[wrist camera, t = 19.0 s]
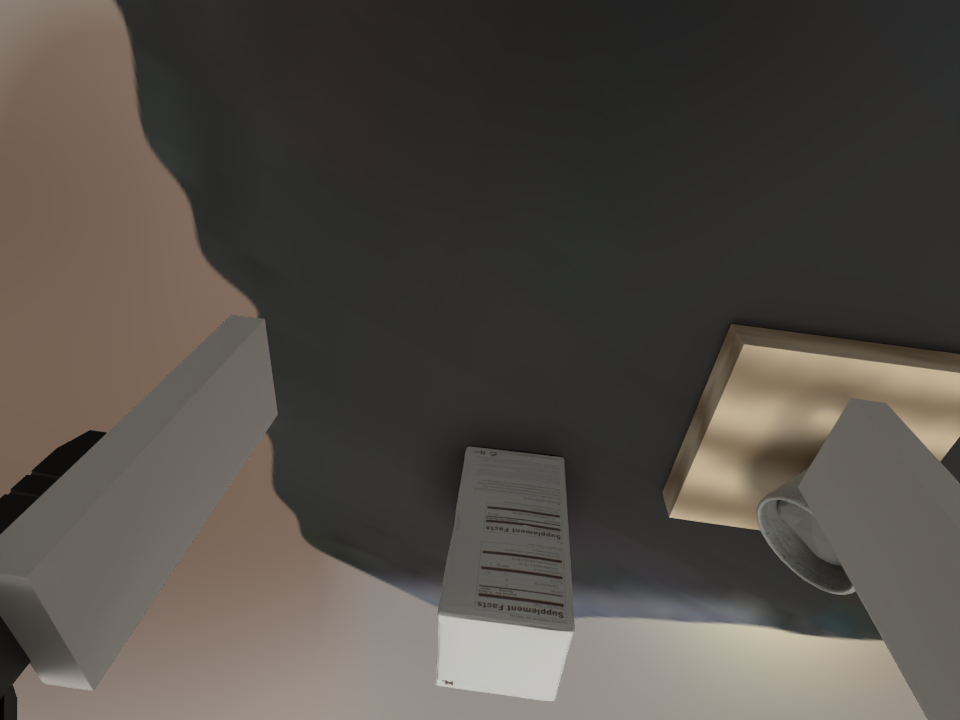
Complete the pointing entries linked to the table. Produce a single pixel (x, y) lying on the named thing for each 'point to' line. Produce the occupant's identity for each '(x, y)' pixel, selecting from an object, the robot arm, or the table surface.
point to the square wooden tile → (797, 414)
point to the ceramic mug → (800, 538)
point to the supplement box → (507, 578)
